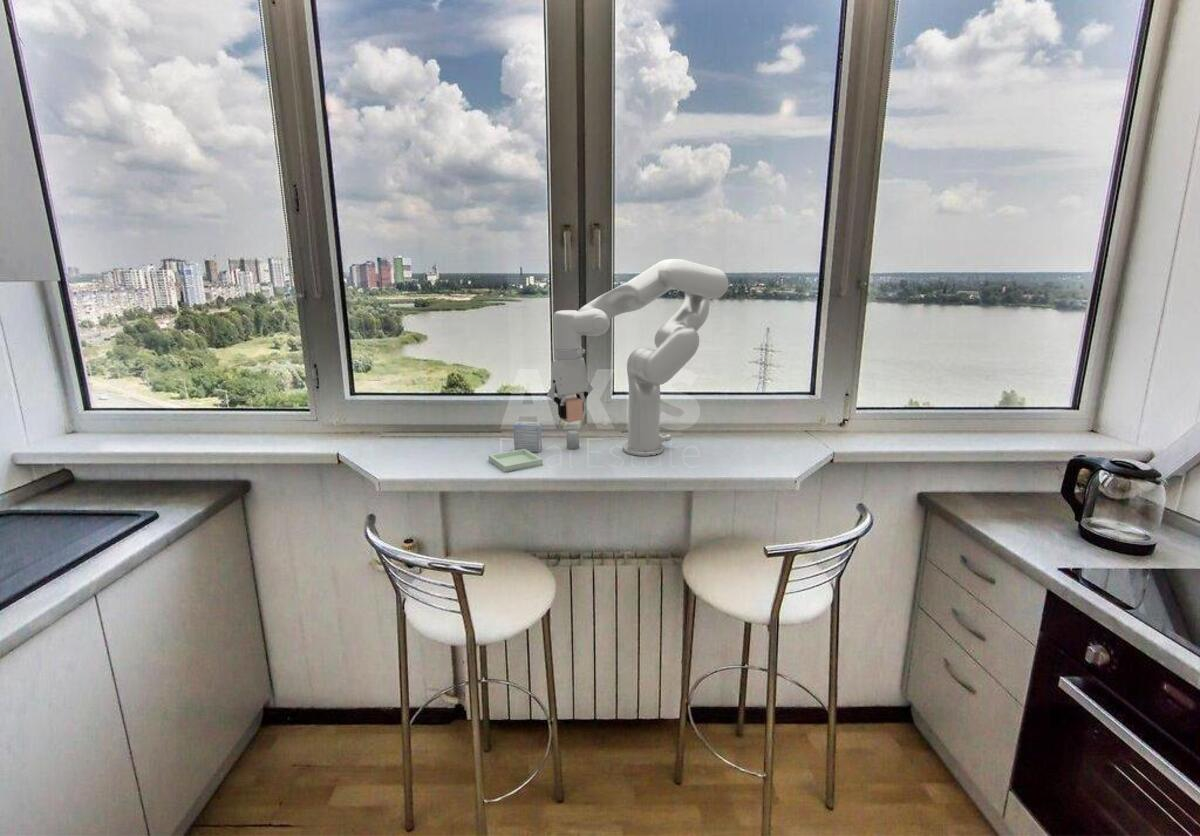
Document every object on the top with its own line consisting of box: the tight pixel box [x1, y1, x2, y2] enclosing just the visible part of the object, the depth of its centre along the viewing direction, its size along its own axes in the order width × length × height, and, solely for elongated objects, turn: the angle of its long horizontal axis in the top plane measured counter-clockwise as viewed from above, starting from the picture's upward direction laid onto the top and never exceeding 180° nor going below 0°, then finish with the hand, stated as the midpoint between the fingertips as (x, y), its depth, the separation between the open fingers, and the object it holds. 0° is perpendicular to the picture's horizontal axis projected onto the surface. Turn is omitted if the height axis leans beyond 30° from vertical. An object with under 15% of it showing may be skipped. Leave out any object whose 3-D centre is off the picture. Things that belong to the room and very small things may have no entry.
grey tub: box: [565, 430, 580, 450], centre depth 176 cm, size 4×4×5 cm
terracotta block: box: [559, 396, 584, 423], centre depth 164 cm, size 5×5×6 cm
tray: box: [488, 449, 544, 473], centre depth 162 cm, size 12×12×2 cm
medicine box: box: [513, 421, 543, 453], centre depth 173 cm, size 8×4×9 cm, turn 84°
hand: (571, 415), depth 164 cm, fingers closed on terracotta block, 5 cm apart
